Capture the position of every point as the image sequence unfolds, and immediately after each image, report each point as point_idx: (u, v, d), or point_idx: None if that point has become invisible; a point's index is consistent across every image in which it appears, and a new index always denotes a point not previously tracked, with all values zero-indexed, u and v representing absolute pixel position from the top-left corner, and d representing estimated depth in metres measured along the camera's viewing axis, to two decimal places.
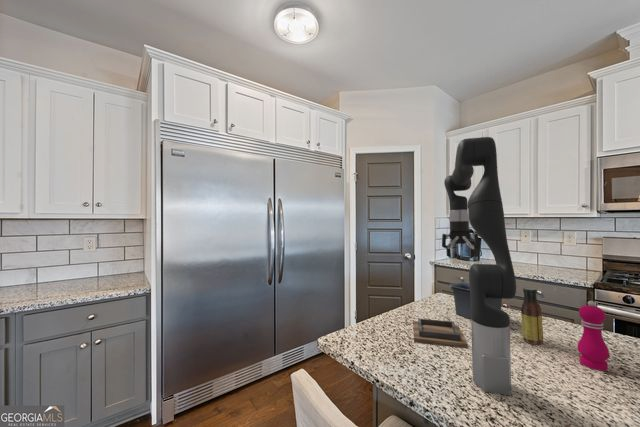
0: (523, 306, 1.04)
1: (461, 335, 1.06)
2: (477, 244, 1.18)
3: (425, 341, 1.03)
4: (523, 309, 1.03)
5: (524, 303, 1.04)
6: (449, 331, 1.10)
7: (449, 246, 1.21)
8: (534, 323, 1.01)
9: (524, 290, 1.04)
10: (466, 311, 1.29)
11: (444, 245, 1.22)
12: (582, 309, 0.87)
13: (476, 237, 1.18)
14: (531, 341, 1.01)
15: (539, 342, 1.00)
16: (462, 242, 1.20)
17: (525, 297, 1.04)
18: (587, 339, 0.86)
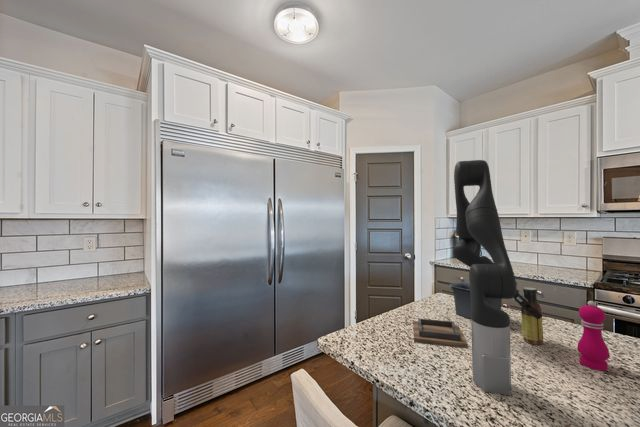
0: None
1: (461, 335, 1.06)
2: None
3: (425, 341, 1.03)
4: (523, 309, 1.03)
5: None
6: (449, 331, 1.10)
7: (530, 304, 1.01)
8: (534, 323, 1.01)
9: (524, 290, 1.04)
10: (466, 311, 1.29)
11: (531, 305, 0.99)
12: (582, 309, 0.87)
13: None
14: (531, 341, 1.01)
15: (539, 342, 1.00)
16: None
17: (525, 297, 1.04)
18: (587, 339, 0.86)
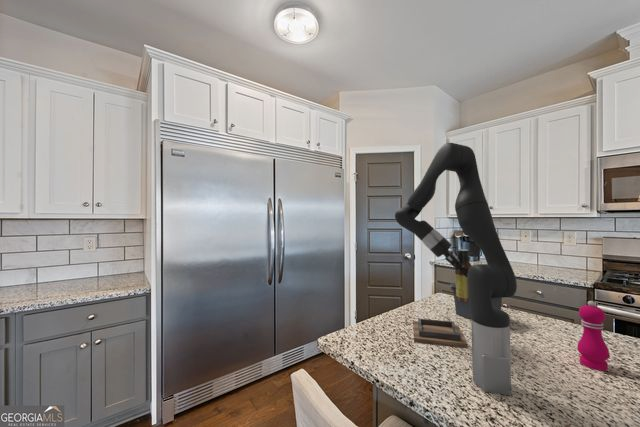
0: None
1: (461, 335, 1.06)
2: None
3: (425, 341, 1.03)
4: None
5: None
6: (449, 331, 1.10)
7: (461, 264, 1.06)
8: (464, 282, 1.06)
9: (457, 251, 1.09)
10: (466, 311, 1.29)
11: (461, 264, 1.04)
12: (582, 309, 0.87)
13: None
14: (462, 299, 1.07)
15: None
16: None
17: (458, 258, 1.09)
18: (587, 339, 0.86)
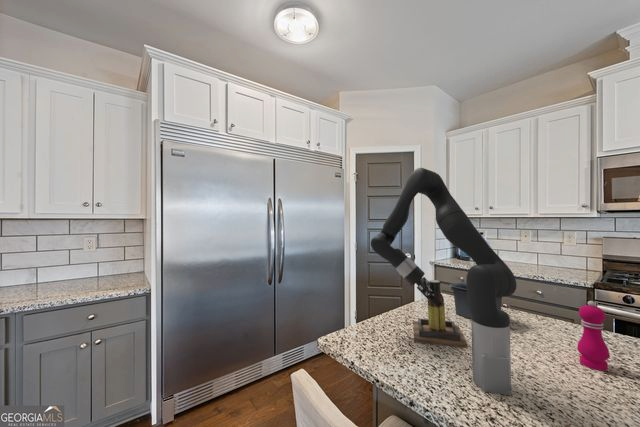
0: None
1: (461, 335, 1.06)
2: None
3: (425, 341, 1.03)
4: (428, 300, 1.11)
5: None
6: (449, 331, 1.10)
7: (432, 293, 1.07)
8: (435, 313, 1.08)
9: (429, 282, 1.11)
10: (466, 311, 1.29)
11: (431, 293, 1.06)
12: (582, 309, 0.87)
13: (426, 279, 1.18)
14: (434, 330, 1.09)
15: (440, 331, 1.08)
16: None
17: None
18: (587, 339, 0.86)
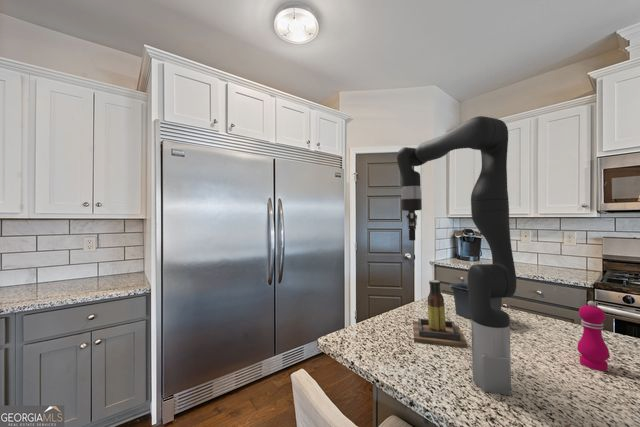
0: (428, 297, 1.11)
1: (461, 335, 1.06)
2: None
3: (425, 341, 1.03)
4: (428, 300, 1.11)
5: (429, 295, 1.11)
6: (449, 331, 1.10)
7: None
8: (435, 313, 1.08)
9: (429, 282, 1.11)
10: (466, 311, 1.29)
11: (415, 226, 1.03)
12: (582, 309, 0.87)
13: None
14: (434, 330, 1.09)
15: (440, 331, 1.08)
16: None
17: (430, 289, 1.11)
18: (587, 339, 0.86)
